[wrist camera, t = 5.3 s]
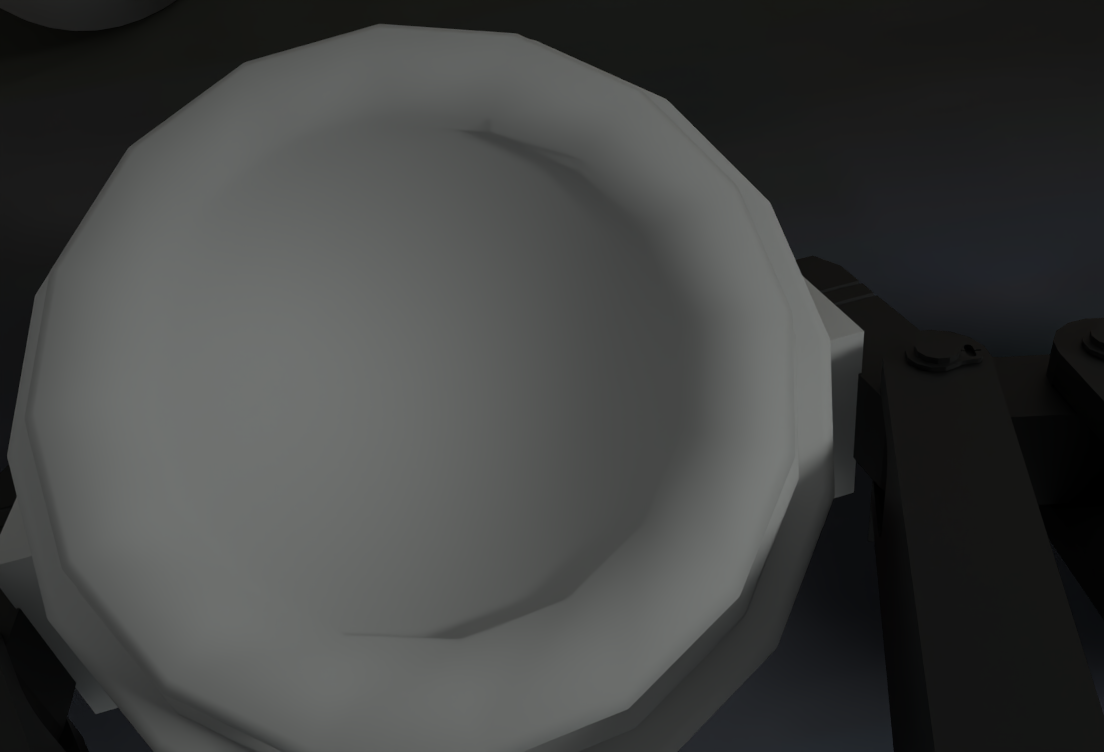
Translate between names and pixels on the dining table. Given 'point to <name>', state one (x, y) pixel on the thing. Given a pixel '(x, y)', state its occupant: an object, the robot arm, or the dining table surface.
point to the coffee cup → (423, 411)
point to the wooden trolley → (83, 12)
